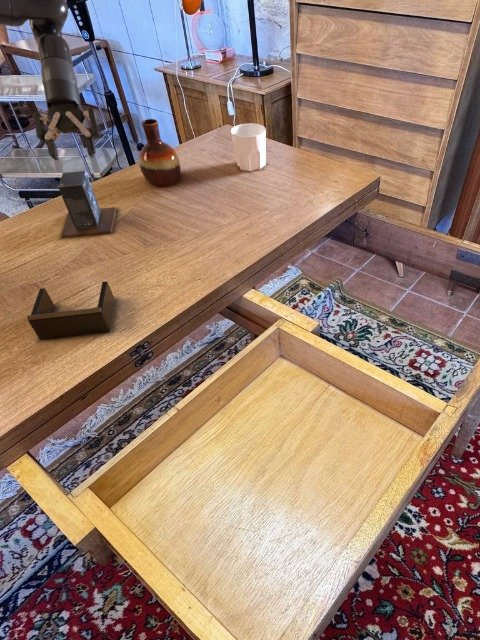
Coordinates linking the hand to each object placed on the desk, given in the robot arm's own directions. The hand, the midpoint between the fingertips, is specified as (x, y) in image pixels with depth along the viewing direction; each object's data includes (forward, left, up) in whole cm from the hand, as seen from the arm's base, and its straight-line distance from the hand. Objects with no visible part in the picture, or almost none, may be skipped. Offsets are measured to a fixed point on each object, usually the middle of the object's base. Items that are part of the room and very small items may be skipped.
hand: (73, 157), depth 107 cm
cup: (+44, +19, -14) cm, 50 cm away
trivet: (0, -7, -13) cm, 15 cm away
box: (0, -7, -13) cm, 15 cm away
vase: (+18, +14, -14) cm, 26 cm away
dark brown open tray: (+3, -45, -13) cm, 47 cm away
